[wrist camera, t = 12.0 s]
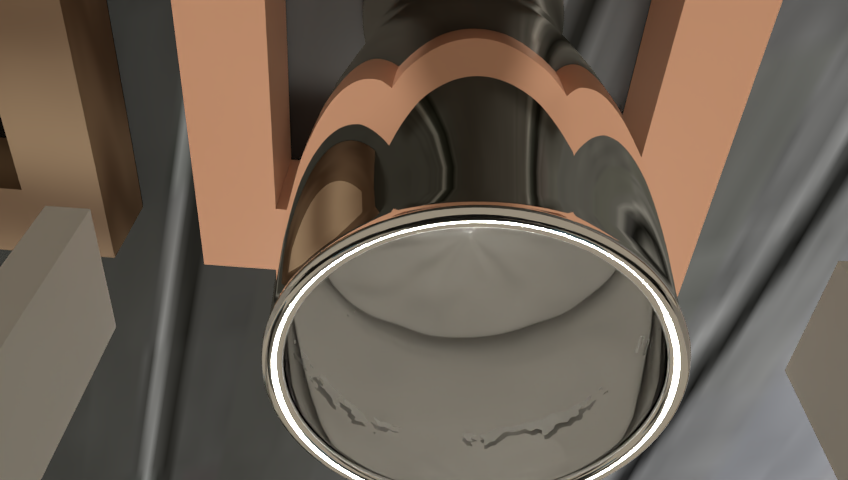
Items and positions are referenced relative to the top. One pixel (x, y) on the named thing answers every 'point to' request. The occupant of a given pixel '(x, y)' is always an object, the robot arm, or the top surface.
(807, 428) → the top surface
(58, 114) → the walnut holder
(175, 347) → the top surface
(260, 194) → the terracotta holder
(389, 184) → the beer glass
